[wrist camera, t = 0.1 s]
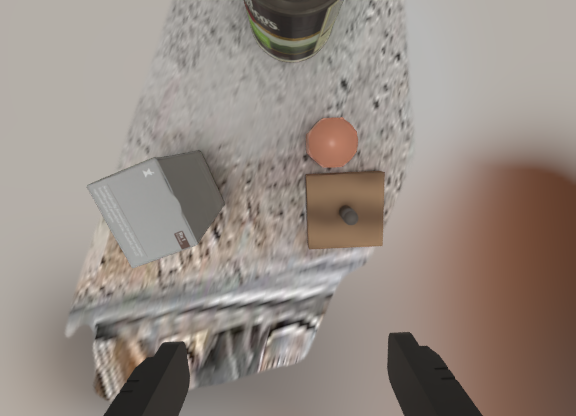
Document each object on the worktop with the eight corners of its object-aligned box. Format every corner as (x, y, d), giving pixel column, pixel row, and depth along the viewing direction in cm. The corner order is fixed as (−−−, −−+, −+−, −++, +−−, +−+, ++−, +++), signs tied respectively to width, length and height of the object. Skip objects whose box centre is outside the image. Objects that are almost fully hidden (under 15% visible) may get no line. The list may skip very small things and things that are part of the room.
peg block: (305, 174, 39) (309, 180, 33) (379, 170, 39) (396, 175, 33) (307, 244, 41) (311, 261, 35) (377, 240, 41) (393, 257, 35)
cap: (305, 121, 37) (308, 118, 32) (348, 119, 37) (358, 116, 32) (306, 165, 38) (309, 168, 33) (348, 163, 38) (357, 166, 33)
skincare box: (158, 166, 38) (71, 183, 23) (207, 147, 38) (152, 151, 22) (185, 223, 40) (122, 274, 25) (232, 206, 40) (197, 246, 24)
